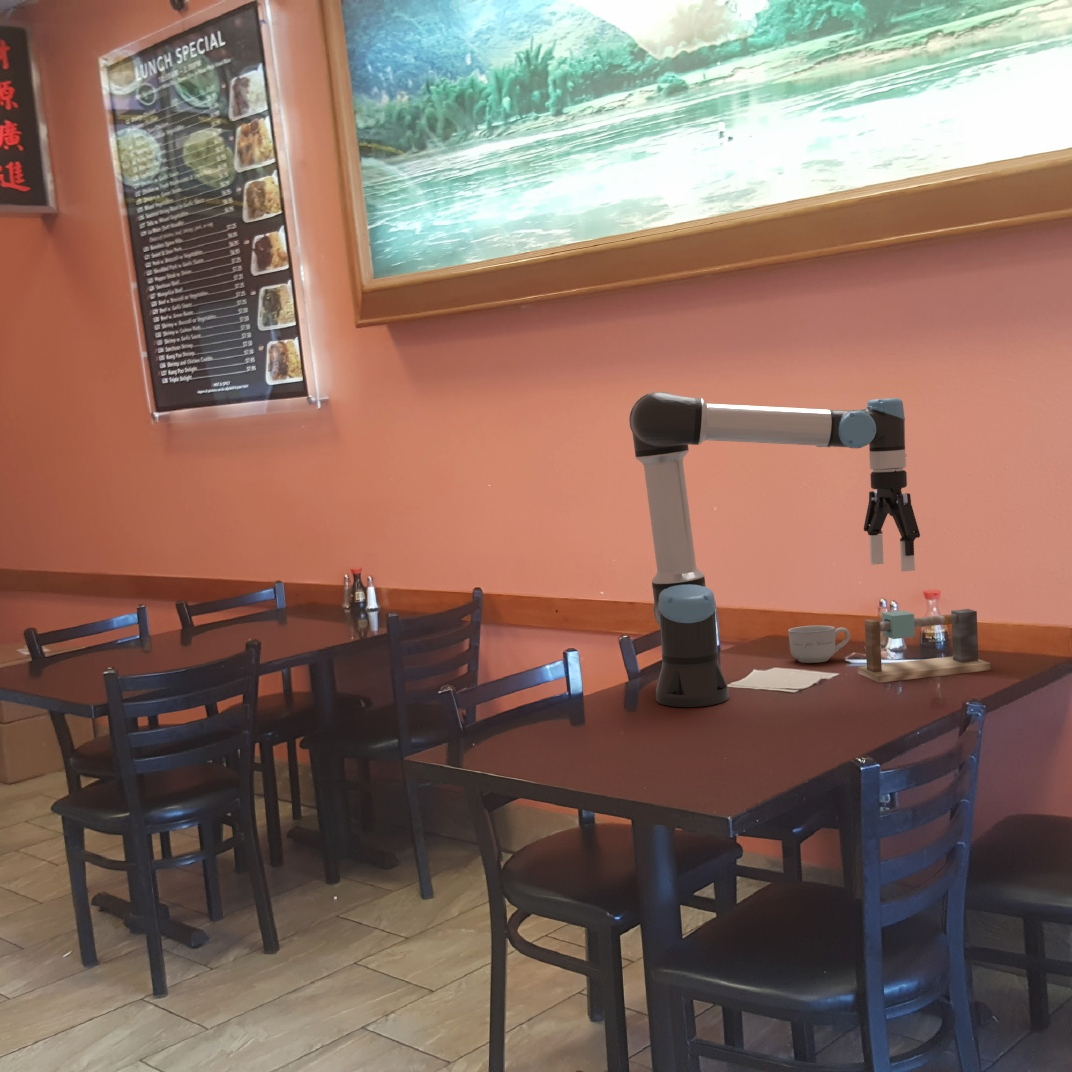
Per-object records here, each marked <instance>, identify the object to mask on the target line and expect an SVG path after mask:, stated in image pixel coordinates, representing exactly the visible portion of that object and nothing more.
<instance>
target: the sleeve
mask: <svg viewBox="0 0 1072 1072" xmlns="http://www.w3.org/2000/svg"><path fill="white" fill-rule="evenodd" d="M914 618H915V613H912V612H909V611H906V610H897V611H888V612H887V611H886V612H885V611H884V612H881V622H884V621H890V625H891V630H888V631H882V636H884V637H886V638H889V639H892V640H896V639H897V640H899V639H907V638H916V628H915V623H914Z"/></svg>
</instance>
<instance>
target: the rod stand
mask: <svg viewBox="0 0 1072 1072" xmlns="http://www.w3.org/2000/svg"><path fill="white" fill-rule="evenodd" d="M950 613H951V614H942V615H935V616H933V615H932V616H924V617H914V623H915V629H916V628H923V627H924V628H925V627H932V626H947V625H951V637H952V639H951V640H952V641H951V642H952V643H951V644H952V656H944V657H943V656H942V657H934V658H926V659H915V660H908V661H899V662H890V663H882V647H881V646H882V645H881V644H882V643H881V632H883V631H888V630H891V625H890V621H884V622H882V621H880V620H877V619H874V618H872V619H871V618H869V619H865V620H864V632H865V633H864V634H865V636H864V637H865V653H866V654H865V658H866V665H862V666H861V665H860V666H857V674H858V675H860V676H863V677H865V678H866V679H869V680H871V681H874V682H876V683H889V682H896V681H897V682H898V681H906V680H914V679H915V680H916V679H922V678H923V679H924V678H925V679H926V678H932V677H942V676H951V675H960V674H968V673H977V672H984V671H986V672H987V671H991V670H992V668H991V667H992V666H991V665H992V664H991V662H988V661H985V660H983V659H980V658H979V643H978V642H979V639H978V637H979V636H978V612H977V610H974V609H970V608H966V609H965V608H964V609H956V610H955V609H954V610H951V612H950Z"/></svg>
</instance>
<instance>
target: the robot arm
mask: <svg viewBox="0 0 1072 1072" xmlns="http://www.w3.org/2000/svg"><path fill="white" fill-rule="evenodd" d="M866 403H867V406H866V408H863V409H856V410H855V409H852V410H842V409H824V408H822V409H821V408H803V407H802V408H801V407H800V408H799V407H783V406H763V405H761V406H760V405H742V404H727V403H725V404H724V403H707V402H706V401H705V400H704V398H700V397H688V396H682V395H678V394H673V393H670V392H665V391H656V392H655V391H653V392H651V393H647V394H644V395H642V396H641V397H640V398H639V399H637V401H636V402H635V403H634V404H633V406H632V408H631V411H630V412H629V413H630V414H629V428H630V430H631V433H632V440H633V441H632V442H633V448H634V455H635V460H637V461H639V462H640V463H641V464H642V465H643V471H644V478H645V487H646V494H647V500H648V510H649V516H650V517H649V518H650V526H651V533H652V541H653V548H654V549H653V550H654V555H655V562H656V563H655V564H656V571H657V572H656V574H655V575H654V577H653V578H652V579H651V585H652V586H651V587H652V588H651V589H652V594H653V596H652V597H653V615H654V618H655V620H656V621H655V622H656V623H657V624H658V625H659V630H660V632H659V633H660V642H661V643H660V644H661V659H662V660H661V662H662V664H661V669H660V672H659V677H658V680H657V684H656V688H655V699H656V702H657V703H658V704H660V705H664V706H668V707H675V708H697V707H698V708H699V707H708V706H714V705H718V704H721V703H724V702H726V701H728V699H729V697H730V696H729V686H728V683H727V680H726V678H725V676H724V674H723V673H724V672H723V671H722V669H721V666H720V663H719V655H718V639H717V638H718V634H717V619H716V617H717V615H716V608H717V604H716V600H715V594H714V591H712V590H711V589H710V588H709V587H707V586H706V579H705V574H704V573H703V572H702V571H701V570H699V568H697V564H696V555H695V547H694V540H693V539H694V537H693V530H692V524H691V514H690V507H689V506H690V505H689V498H688V490H687V483H686V482H687V481H686V475H685V468H684V467H685V465H684V458H685V457H686V456H687V454H688V453H689V452H690V451H689V445H690V446H691V445H692V446H693V445H694V446H698V445H701V444H703V442H704V441H712V442H714V441H715V442H732V443H733V442H735V443H752V444H753V443H756V444H757V443H758V444H775V445H795V446H796V445H797V446H816V447H817V448H831V447H833V448H834V447H835V448H849V449H861V448H864V447H866V446H868V447H869V448H868V449H869V451H868V452H869V455H868V456H869V469H870V470H872V472H871V473H870V488H871V489H872V491H869V492H868V505H867V509H866V514H865V519H864V523H863V524H864V525H863V531H864V532H867V535H869V552H870V554H869V555H870V556H869V557H870V565H872V566H873V565H883V564H884V544H883V541H884V540H883V530H882V529H883V526H884V524H885V521H886V519H887V516H888V514H889V517H890V516H891V517H892V518H893V520H894V523H895V525H896V527H897V528H896V529H898V532H899V535H900V536H901V537H900V538H899V544H900V545H899V546H900V571H901V572H904V573H905V572H912V571H916V568H915V565H916V564H915V562H916V561H915V544H914V543H915V540H916V539H919V538H921V534H920V529H919V526H918V521H917V519H916V516H915V513H914V509H913V505H912V499H911V494H910V493H907V492H906V493H902V492H903V491H902V489H903V488H906V487H907V485H908V479H907V475H908V474H907V473H908V472H907V471H906V470H905V468H906V467H907V459H906V458H907V453H906V429H905V426H906V425H905V423H906V422H905V421H906V417H905V411H904V409H905V408H904V404H903V403H904V402H903V400H902V399H901V398H898V397H893V398H890V397H889V398H878V399H877V398H876V399H870V400H868V401H867V402H866Z"/></svg>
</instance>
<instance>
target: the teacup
mask: <svg viewBox="0 0 1072 1072" xmlns="http://www.w3.org/2000/svg"><path fill="white" fill-rule="evenodd" d="M787 632H788V639H789V640H788V641H789V650H790V654H791V656H792V657H794V659H796V660H797V661H798V662H799V663H804V664H811V663H812V664H813V663H814V664H816V663H817V664H818V663H825V662H827V661H829V660H830V658H831V657H833V655H834V654H835V653H837V652H838V651H839V650H840V649H841V648H842V647H845V645H847V644H848V642H849V641H850V637H851V634H850V631H849V630H848V629H847V628H846V627H838V628H836V627H835V626H831V625H806V626H805V625H803V626H797V627H792V628H788V630H787ZM841 632H843V633H844V634H845V636H844V637H845V638H844V639H843V640H842V641H841V642H840V643H838V644H836V639H837V637H838V634H839V633H841Z"/></svg>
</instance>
